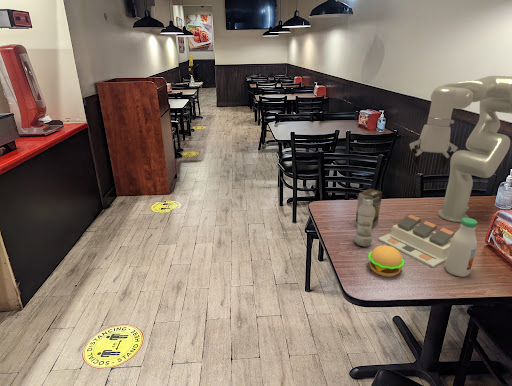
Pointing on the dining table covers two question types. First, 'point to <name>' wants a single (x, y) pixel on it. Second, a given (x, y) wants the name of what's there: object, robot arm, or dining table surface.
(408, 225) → the switch
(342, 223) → the dining table surface
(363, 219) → the plastic bottle
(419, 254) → the switch board
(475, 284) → the dining table surface
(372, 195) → the coffee box
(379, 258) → the hamburger
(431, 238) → the switch
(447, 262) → the milk bottle
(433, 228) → the switch middle
